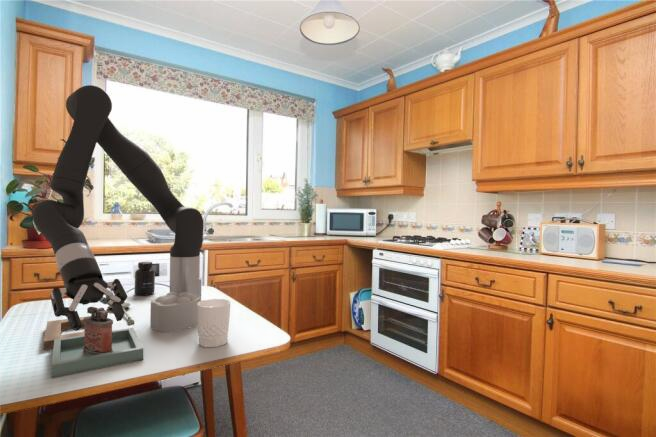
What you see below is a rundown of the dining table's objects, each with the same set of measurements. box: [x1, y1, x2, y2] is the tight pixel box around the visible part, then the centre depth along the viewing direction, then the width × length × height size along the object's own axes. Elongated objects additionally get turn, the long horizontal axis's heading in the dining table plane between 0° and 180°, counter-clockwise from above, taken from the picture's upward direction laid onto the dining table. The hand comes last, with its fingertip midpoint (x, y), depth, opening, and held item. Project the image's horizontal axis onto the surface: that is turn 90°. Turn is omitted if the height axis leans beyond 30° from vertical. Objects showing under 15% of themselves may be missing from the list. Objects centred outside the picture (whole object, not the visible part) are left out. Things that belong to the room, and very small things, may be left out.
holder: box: [43, 315, 89, 351], centre depth 93 cm, size 12×17×2 cm
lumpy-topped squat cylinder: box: [149, 291, 202, 334], centre depth 103 cm, size 10×13×9 cm
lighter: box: [83, 306, 114, 356], centre depth 81 cm, size 8×3×10 cm, turn 64°
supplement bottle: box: [133, 261, 156, 297], centre depth 137 cm, size 7×7×12 cm
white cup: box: [197, 298, 231, 348], centre depth 90 cm, size 8×8×10 cm
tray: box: [51, 327, 145, 379], centre depth 81 cm, size 16×16×2 cm
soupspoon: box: [106, 302, 135, 325], centre depth 111 cm, size 22×3×7 cm
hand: (100, 323), depth 80 cm, fingers open, 8 cm apart
